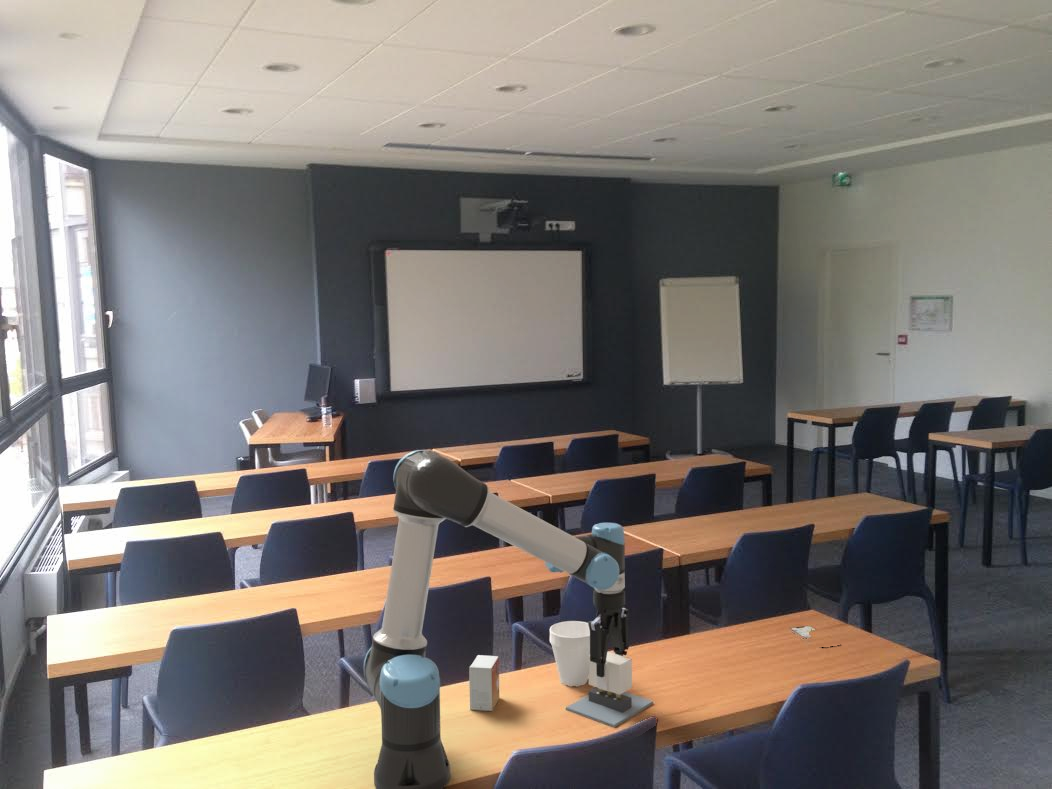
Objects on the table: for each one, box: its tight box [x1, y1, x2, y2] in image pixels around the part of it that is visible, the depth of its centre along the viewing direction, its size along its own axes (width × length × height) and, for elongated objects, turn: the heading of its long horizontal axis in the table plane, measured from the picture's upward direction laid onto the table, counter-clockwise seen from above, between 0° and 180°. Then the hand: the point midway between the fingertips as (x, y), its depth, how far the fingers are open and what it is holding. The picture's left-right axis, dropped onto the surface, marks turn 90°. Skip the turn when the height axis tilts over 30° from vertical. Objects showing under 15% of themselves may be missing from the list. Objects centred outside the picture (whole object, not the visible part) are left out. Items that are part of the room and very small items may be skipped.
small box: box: [468, 654, 500, 712], centre depth 200 cm, size 8×6×10 cm
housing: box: [588, 651, 633, 695], centre depth 197 cm, size 5×9×7 cm, turn 48°
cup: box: [549, 620, 590, 687], centre depth 212 cm, size 12×12×14 cm
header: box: [565, 686, 654, 728], centre depth 198 cm, size 16×14×7 cm
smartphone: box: [789, 625, 831, 642], centre depth 241 cm, size 7×1×15 cm
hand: (610, 684), depth 197 cm, fingers closed on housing, 5 cm apart
